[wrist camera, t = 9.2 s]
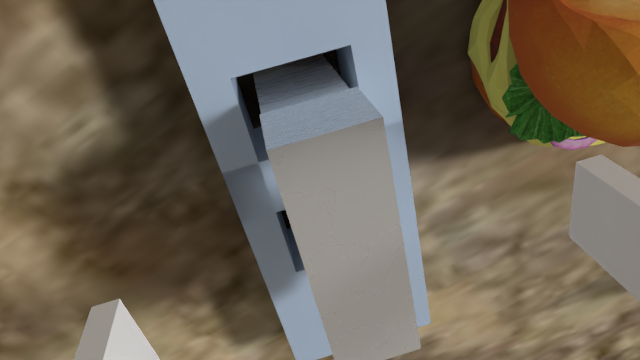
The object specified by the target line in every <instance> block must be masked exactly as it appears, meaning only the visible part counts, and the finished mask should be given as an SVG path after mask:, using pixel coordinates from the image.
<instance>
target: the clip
mask: <svg viewBox="0 0 640 360" xmlns="http://www.w3.org/2000/svg"><path fill="white" fill-rule="evenodd" d="M253 77H254V82H255V86H256V91H257V96H258V101H259V106H260V111H261V114H259V115H260V120H261V126H262V131H263V136H264V141H265V147H266V151H267V154H268V157H269V161H270V164H271V167H272V170H273V173H274V176H275V179H276V182H277V185H278V188H279V191H280V194H281V197H282V200H283V203H284V207H285V210H286V213H287V216H288V219H289V222H290V225H291V228H292V231H293V234H294V237H295V240H296V243H297V246H298V249H299V253H300V256H301V259H302V262H303V265H304V268H305V271H306V274H307V277H308V280H309V283H310V286H311V289H312V292H313V296H314V299H315V302H316V305H317V308H318V311H319V314H320V317H321V320H322V323H323V326H324V329H325V332H326V335H327V338H328V342H329V345H330V348H331V351H332V354H333V357H334V360H386V359H389V358H392V357H395V356H398V355H402V354H405V353H408V352H411V351H414V350H417V349H420V348H421V346H420V340H419V333H418V327H417V321H416V315H415V309H414V303H413V297H412V291H411V285H410V278H409V272H408V266H407V260H406V254H405V248H404V242H403V236H402V230H401V223H400V217H399V211H398V205H397V199H396V193H395V187H394V181H393V174H392V168H391V162H390V156H389V150H388V144H387V138H386V132H385V126H384V119H383V116H382V115H381V114H380V113H379V111H378V110H377V109H376V108H375V107H374V105H373V104H372V103H371V102H370V101H369V100H368V98H367V97H366V96H365V95H364V94H363V93H362V91H361V90H360V89H359V88H358V87H353V88H350V89H349V87H348V86H347V85H346V83H345V82H344V81H343V80H342V78H341V77H340V76H339V75H338V73H337V72H336V71H335V70H334V68H333V67H332V66H331V65H330V63H329V62H328V61H327V60H326V58H325V57H324V56H323V54H322V53H320V54H317V55H313V56H310V57H306V58H302V59H299V60H295V61H292V62H288V63H285V64H281V65H278V66H274V67H270V68H267V69H263V70H260V71H256V72H253Z"/></svg>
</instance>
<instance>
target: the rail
mask: <svg viewBox="0 0 640 360" xmlns="http://www.w3.org/2000/svg"><path fill="white" fill-rule="evenodd" d="M153 1H154V3H155V6H156V8H157V11H158V13H159V16H160V18H161V21H162V24H163V26H164V29H165V31H166V34H167V36H168V39H169V41H170V44H171V46H172V49H173V51H174V54H175V56H176V59H177V61H178V64H179V66H180V69H181V71H182V74H183V76H184V79H185V81H186V84H187V87H188V89H189V92H190V94H191V97H192V99H193V102H194V104H195V107H196V109H197V112H198V114H199V117H200V119H201V122H202V124H203V127H204V129H205V132H206V134H207V137H208V139H209V142H210V145H211V147H212V150H213V152H214V155H215V157H216V160H217V162H218V165H219V167H220V170H221V172H222V175H223V177H224V180H225V182H226V185H227V187H228V190H229V192H230V195H231V197H232V200H233V202H234V205H235V208H236V210H237V213H238V215H239V218H240V220H241V223H242V225H243V228H244V230H245V233H246V235H247V238H248V240H249V243H250V245H251V248H252V250H253V253H254V255H255V258H256V260H257V263H258V265H259V268H260V271H261V273H262V276H263V278H264V281H265V283H266V286H267V288H268V291H269V293H270V296H271V298H272V301H273V303H274V306H275V308H276V311H277V313H278V316H279V318H280V321H281V323H282V326H283V328H284V331H285V334H286V336H287V339H288V341H289V344H290V346H291V349H292V351H293V354H294V356H295V359H296V360H316V359H319V358H323V357H326V356H329V355H332V351H331V348H330V345H329V342H328V338H327V335H326V332H325V329H324V326H323V323H322V320H321V317H320V314H319V311H318V308H317V305H316V302H315V299H314V296H313V292H312V289H311V286H310V283H309V280H308V277H307V274H306V271H305V268H304V265H303V262H302V259H301V256H300V253H299V249H298V246H297V243H296V240H295V237H294V234H293V231H292V228H289V229H287V228H286V225H285V222H284V219H283V216H282V213H281V211H283V210H285V207H284V203H283V200H282V197H281V194H280V191H279V188H278V185H277V182H276V179H275V176H274V173H273V170H272V167H271V164H270V161H269V157H268V154H267V151H266V147H265V141H264V136H263V131H262V127H258V128H255V129H253V126H252V123H251V120H250V117H249V114H248V111H247V108H246V105H245V102H244V98H243V95H242V92H241V89H240V86H239V83H238V80H237V77H238V76H242V75H246V74H249V73H253V72H256V71H260V70H263V69H267V68H270V67H274V66H278V65H281V64H285V63H288V62H292V61H295V60H299V59H302V58H306V57H310V56H313V55H317V54H320V53H324V52H327V51H331V50H334V49H336V54H337V59H338V64H339V69H340V73H341V78H342V80H343V81H344V82H345V83H346V85H347V86H348V87H349V89H350V88H353V87H358V88H359V89H360V90H361V91H362V93H363V94H364V95H365V96H366V97H367V98H368V100H369V101H370V102H371V103H372V104H373V105H374V107H375V108H376V109H377V110H378V111H379V113H380V114H381V115H382V116H383V119H384V126H385V132H386V138H387V144H388V150H389V156H390V162H391V168H392V174H393V181H394V187H395V193H396V199H397V205H398V211H399V217H400V223H401V230H402V236H403V242H404V248H405V254H406V260H407V266H408V272H409V278H410V285H411V291H412V297H413V303H414V309H415V315H416V321H417V327H421V326H424V325H427V324H431V321H430V314H429V307H428V300H427V293H426V285H425V278H424V271H423V264H422V257H421V250H420V242H419V235H418V228H417V221H416V214H415V207H414V199H413V192H412V185H411V178H410V171H409V164H408V156H407V149H406V142H405V135H404V128H403V121H402V113H401V106H400V99H399V92H398V85H397V78H396V70H395V63H394V56H393V49H392V42H391V35H390V27H389V20H388V13H387V6H386V0H153Z"/></svg>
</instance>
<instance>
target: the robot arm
mask: <svg viewBox="0 0 640 360" xmlns="http://www.w3.org/2000/svg"><path fill="white" fill-rule="evenodd" d="M569 237H570V238H571V239H572V240H573V241H574V242H575V243H576V244H578V245H579V246H580V247H581V248H582V249H583V250H584V251H585V252H586V253H587V254H588V255H589V256H591V257H592V258H593V259H594V260H595V261H596V262H597V263H598V264H599V265H600V266H601V267H603V268H604V269H605V270H606V271H607V272H608V273H609V274H610V275H611V276H612V277H613V278H615V279H616V280H617V281H618V282H619V283H620V284H621V285H622V286H623V287H624V288H625V289H626V290H628V291H629V292H630V293H631V294H632V295H633V296H634V297H635V298H636V299H637V300H638V301H640V178H638V177H637V176H635V175H633V174H632V173H630V172H629V171H627V170H625V169H624V168H622V167H620V166H619V165H617V164H616V163H614V162H612V161H611V160H609V159H608V158H606V157H604V156H603V155H598V156H595V157H592V158H588V159H585V160H582V161H578V162H576V168H575V177H574V187H573V197H572V207H571V217H570V226H569ZM74 360H160V359H159V357H158V356H157V354H156V353H155V351H154V350H153V348H152V347H151V345H150V344H149V342H148V341H147V339H146V338H145V336H144V335H143V333H142V331H141V330H140V328H139V327H138V325H137V324H136V322H135V321H134V319H133V318H132V316H131V315H130V313H129V312H128V310H127V309H126V307H125V306H124V304H123V303H122V301H121V300H120V299H117V300H113V301H110V302H106V303H103V304H100V305H96V306H93V307H91V310H90V313H89V316H88V319H87V322H86V325H85V328H84V331H83V334H82V337H81V340H80V343H79V346H78V349H77V351H76V354H75V357H74Z"/></svg>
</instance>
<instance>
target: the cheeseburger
mask: <svg viewBox="0 0 640 360" xmlns="http://www.w3.org/2000/svg"><path fill="white" fill-rule="evenodd" d="M468 55H469V57H470V59H471V68H472V78H473V82H474V83H475V85H476V87H477V88H478V90H479V92H480V93H481V95H482V96H483V98H484V100H485V101H486V103H487V105H488V106H489V108H490V109H491V111H492V112H493V113H494V114H495V115H496V116H497V117H498V118H500V119H501V120H503V121H504V122H506V123H507V124H509V125H510V126H511V128H510V130H509V132H508V133H512V134H516V135H517V137H518V138H519V139H520V140H526V141H528V142H529V143H531V144H534V145H541V146H547V147H552V146H555V147H560V148H565V149H570V150H573V149H578V148H583V147H588V146H593V145H597V144H601V143H605V142H608V143H611V144H615V145H618V146H623V147H628V146H640V0H482V1H481V3H480V5H479V7H478V9H477V11H476V14H475V16H474V18H473V22H472V26H471V30H470V40H469V47H468Z"/></svg>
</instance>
